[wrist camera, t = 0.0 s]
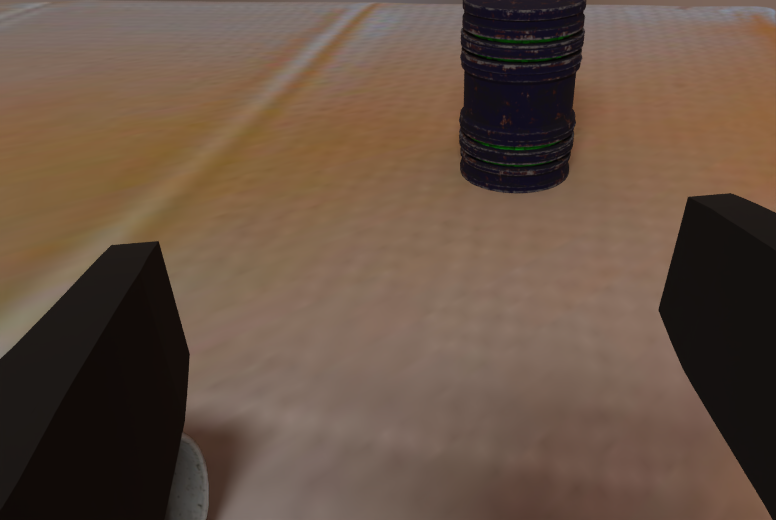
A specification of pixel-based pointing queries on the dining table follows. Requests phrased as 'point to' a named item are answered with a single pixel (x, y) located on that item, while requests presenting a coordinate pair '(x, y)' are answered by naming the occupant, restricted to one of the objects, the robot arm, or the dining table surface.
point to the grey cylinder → (189, 484)
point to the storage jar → (519, 92)
